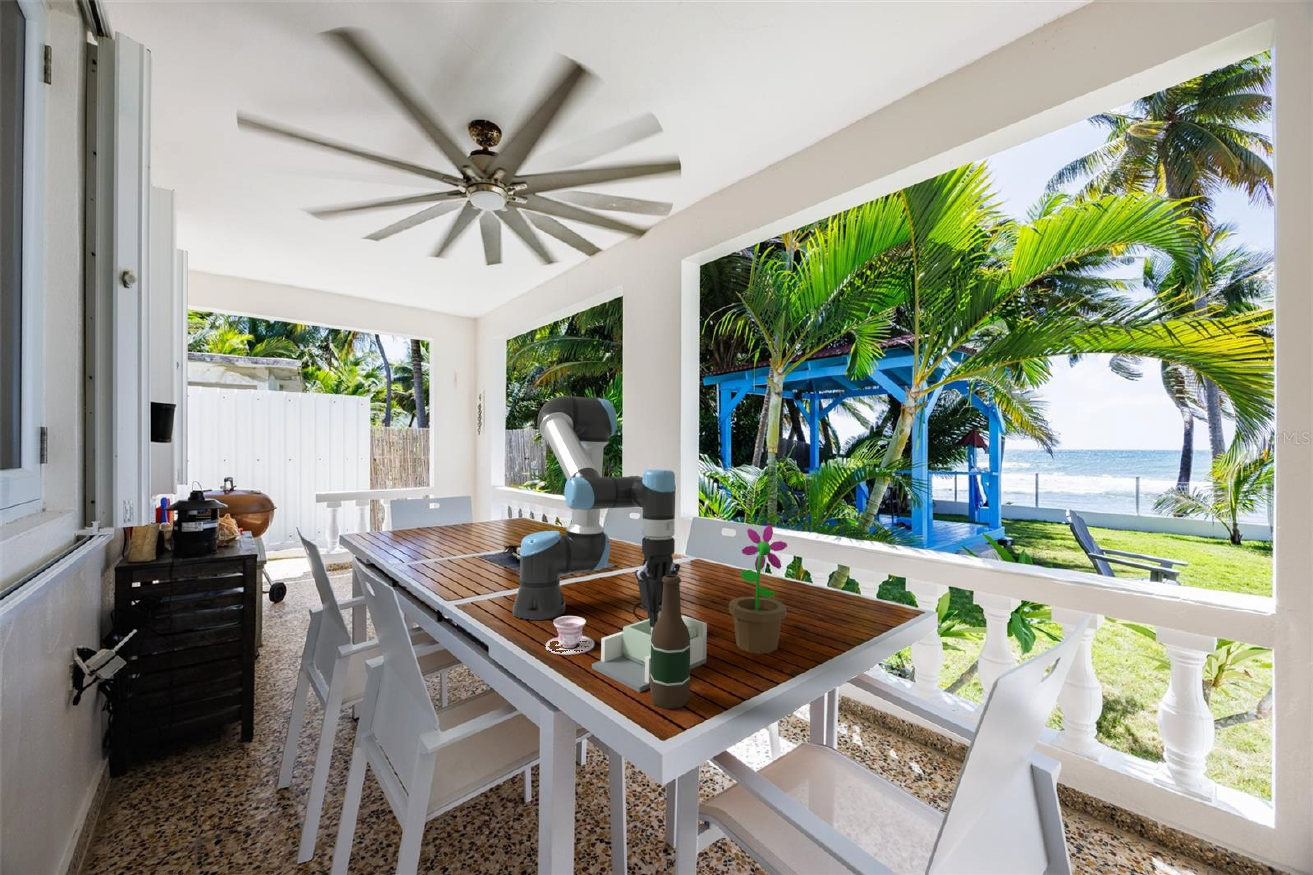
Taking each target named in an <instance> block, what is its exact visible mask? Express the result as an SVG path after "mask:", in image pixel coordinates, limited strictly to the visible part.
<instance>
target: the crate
mask: <svg viewBox="0 0 1313 875" xmlns="http://www.w3.org/2000/svg"><path fill="white" fill-rule="evenodd" d="M643 620H644V621H640V620H639V621H637V622H635V623H632V624H629V625H628V624H627V625H625V626H623V627H622V631H623V656H624V657H626V658H629V659H631V660H633V661H635V662H638V663H640V664H642V665H644V666H645V657H646V656H649V655H651V627H650V625H649V624H650V619H648V618H647V619H643ZM686 626H687V628H688V631H689V634H690V639H693V638H696V634H697V628H695V627H692V626H689V625H686Z"/></svg>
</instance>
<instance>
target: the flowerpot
mask: <svg viewBox="0 0 1313 875" xmlns="http://www.w3.org/2000/svg"><path fill="white" fill-rule="evenodd" d="M746 531H747V536H748V538H749V539H750V540H751V542H752V543H754V544H756V545H757V546H755V545H748V546H745V547H744V548H742V549H741V553H742V554H743V555H745V556H753V555H756V554H757V553H759V554H758V556H757V557H756V558H755V562H754V566H755V570H756V571H754V570H752V569H744V570H742V571H741V572H740V573H739V575H740V577H741V578H742V579H743V581H745V582H747V583H749V584H751V583H755V596H740V597H737V598H731V599H730V602H729V603H728V613H729V614H730V615H731V616H732V617H733V626H734V634H735V642H736V643H735V644H736V646H737V647H738V649H740V650H742V651H744V650H745V652H747V653H751V654H758V655H761V654H763V655H764V654H765V653H766V654H772V653H773V652H772V651H774V650H778V647H777V646H779V639H780V631H781V625H782V620H785V619H786V616H787V605H786V604H785V603H782V601H779V600H775V599H772V598H771V597H774V596H776V593H775V592H773V591H772V590H769V589H768V588H765V587H760V583H761V571H762V570H763V568H764V567H765V563H766V557H765V556H767V561H768V562H769V563H770V564H771V565H772V567H774V568H776V569H778V570H780V569H781V568H782V562H781V560H780V559H779V557H778V556H777V555H776V554H774V553H772V552H771V551H774V552H778V551H783V550H784V549H785V548H787V547H788V544H787V543H788V542H784V541H781V540H779V541H773V542H772V543H770V544H769V542H770V541H771V540H772V538H773V534H774V531H773V525H770V524H768V525H767V526H766V527H765V528H764V530H763V533H762V540H763V541H761V536H760V535H759V534H758V532H757V531H755V530H754V529H752V528H748V529H747V530H746ZM760 596H761V597H760ZM771 652H772V653H771ZM774 652H775V651H774Z"/></svg>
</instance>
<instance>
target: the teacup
mask: <svg viewBox="0 0 1313 875" xmlns="http://www.w3.org/2000/svg"><path fill="white" fill-rule="evenodd" d="M586 623H587V620H586V619H585V618H584V617H580V616H575V615H564V616H558V617H555V619H554V620H553V626H554V627H555V628H556V631H557V634H558V636H556V637H554V638H551V639H549V640H548V641H547V642H546V643H545V646H546V647H545V646H544V647H545V650H547V651H548V650H549V651H551V652H550V653H552V654H556V655H561V656H570V655H579V654H580V655H581V654H583V653H584V654H585V653H586V652H589V651H591V650H592V649H593V648H594V647H595V641H594V640H593V639H592V638H590V637H588V636H585V635H583V627H584V626H585V625H586ZM552 641H558V642H559V644H558V645H557V644H556V645H555V646H560V647H561V646H562V647H561V648H559V649H556V650H568V651H566V652H565V651H564V652H562V653H560V652H555V651H552V649H550V648H549V647H548V646H550V642H552ZM580 641H581V642H580ZM582 641H587V642H582ZM577 644H578V645H579V646H577ZM576 646H577V647H576ZM581 646H582V647H581ZM584 646H589V647H586V648H585V647H584ZM569 650H570V651H569ZM574 650H580V652H579V651H577V652H576V651H574ZM581 650H583V651H581ZM549 651H548V652H549Z"/></svg>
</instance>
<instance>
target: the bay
mask: <svg viewBox="0 0 1313 875" xmlns="http://www.w3.org/2000/svg"><path fill="white" fill-rule="evenodd" d="M681 616H682V619H683V621H684V623H685V624H686V625H689V626H692V627H695V628H697V634H696V638H693V639H690V671H691V670H693V669H695V668H697V667H699V666H701V665H704V664H706V663H707V643H708V642H707V634H708V633H707V631H708V629H707V628H708V626H707V625H708V623H707V622H704V621H701V620H698V619H695V618H693V617H689V616H686V615H684V614H683V615H682V614H681ZM600 640H601V641H600V642H601V646H600V647H601V648H600V650H601V651H600V660H599V661H596V662H594V663H592V664H591V669H592V670H594V671H596V672H598V673H599V674H602V675H604V676H606V677H608V678H610V679H612V680H613V681H615V682H617V683H620V684H621V685H624V686H625V687H628V688H629V689H631V690H634V691H635V692H637V693H641V692H644V691H647V690H648V689H650V664H651V655H649V656H646V657H645V666H644V665H642V664H640V663H638V662H635V661H633V660H631V659H629V658H626V657H624V656H623V630H622V631H620V632H617V633H613V634H610V635H607V636H604V637H601V638H600Z"/></svg>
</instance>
